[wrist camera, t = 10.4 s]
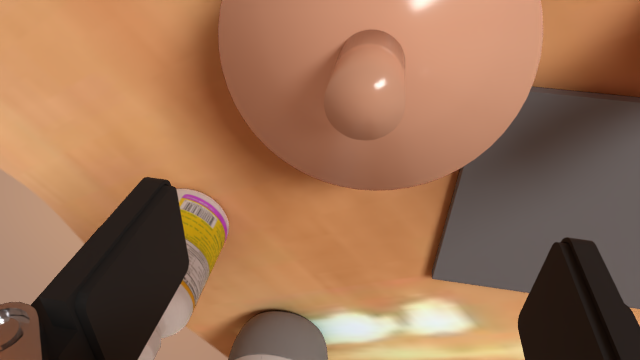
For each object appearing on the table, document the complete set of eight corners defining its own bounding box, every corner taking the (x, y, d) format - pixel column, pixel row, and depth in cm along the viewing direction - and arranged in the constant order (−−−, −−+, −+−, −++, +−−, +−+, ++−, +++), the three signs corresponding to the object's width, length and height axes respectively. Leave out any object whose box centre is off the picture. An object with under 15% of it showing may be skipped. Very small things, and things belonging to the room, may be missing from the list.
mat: (646, 302, 36) (650, 310, 35) (431, 271, 37) (432, 278, 37) (786, 112, 26) (795, 118, 25) (484, 81, 27) (486, 87, 27)
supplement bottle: (170, 244, 40) (89, 375, 30) (145, 184, 37) (44, 311, 26) (239, 245, 39) (180, 383, 29) (221, 184, 35) (146, 317, 25)
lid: (489, 194, 26) (506, 264, 21) (236, 164, 27) (203, 223, 23) (592, -120, 17) (659, -113, 12) (209, -138, 18) (146, -138, 14)
